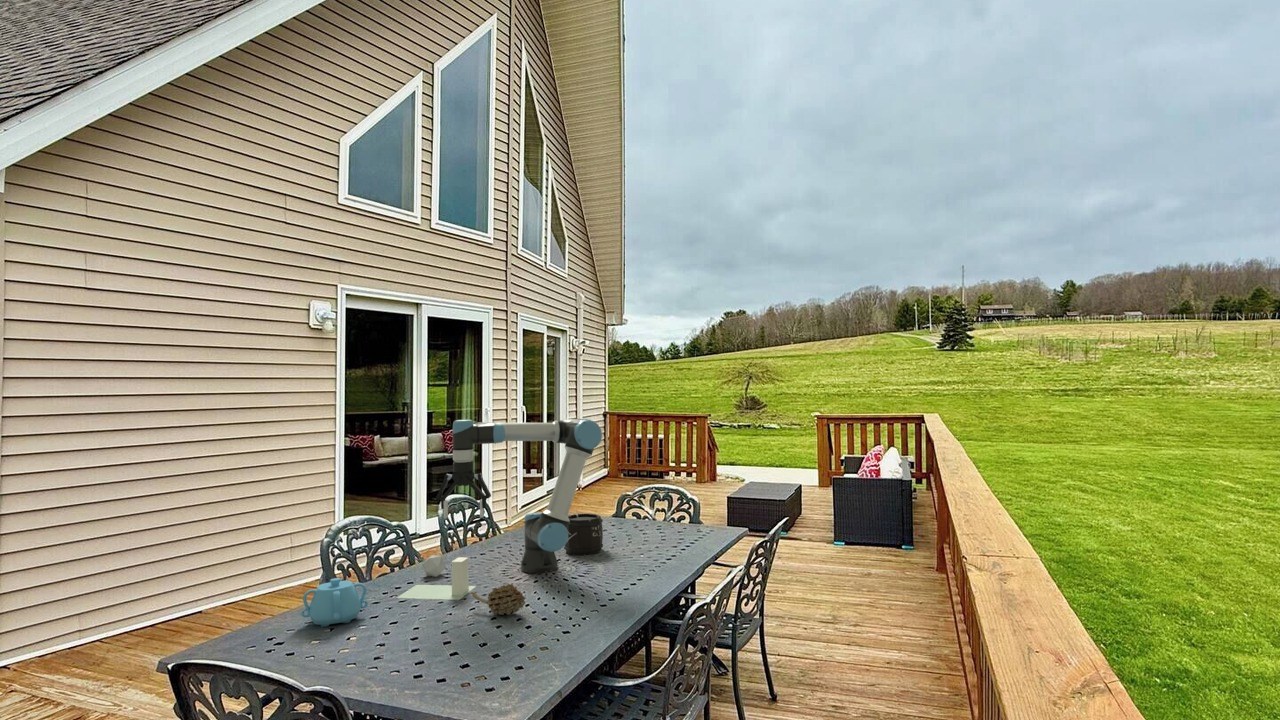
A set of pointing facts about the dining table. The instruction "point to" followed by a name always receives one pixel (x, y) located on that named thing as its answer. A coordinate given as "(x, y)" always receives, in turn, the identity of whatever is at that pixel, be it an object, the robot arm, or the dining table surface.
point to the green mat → (432, 592)
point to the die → (434, 565)
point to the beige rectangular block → (460, 576)
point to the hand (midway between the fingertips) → (463, 517)
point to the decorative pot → (334, 602)
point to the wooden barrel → (584, 534)
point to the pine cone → (503, 599)
